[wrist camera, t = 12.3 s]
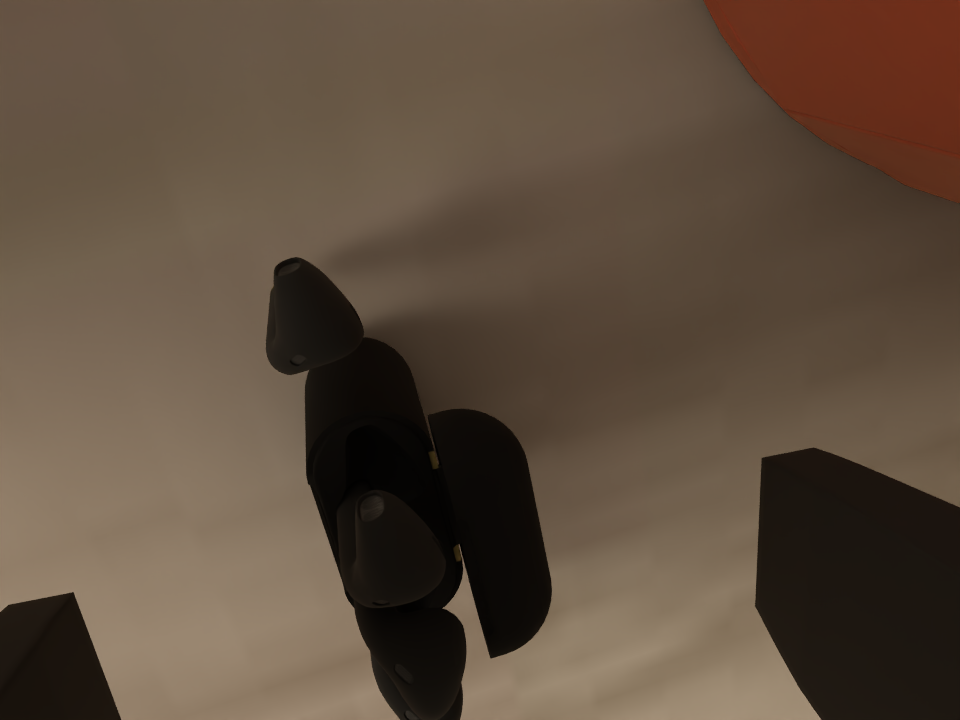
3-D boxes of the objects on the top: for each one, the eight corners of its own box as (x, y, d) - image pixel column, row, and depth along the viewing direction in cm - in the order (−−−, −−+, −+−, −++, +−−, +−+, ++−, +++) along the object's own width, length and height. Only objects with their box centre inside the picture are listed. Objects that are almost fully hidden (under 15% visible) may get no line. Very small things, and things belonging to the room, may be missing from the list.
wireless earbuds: (249, 207, 12) (216, 355, 7) (430, 164, 12) (514, 279, 7) (376, 605, 14) (411, 890, 10) (519, 565, 15) (616, 825, 10)
